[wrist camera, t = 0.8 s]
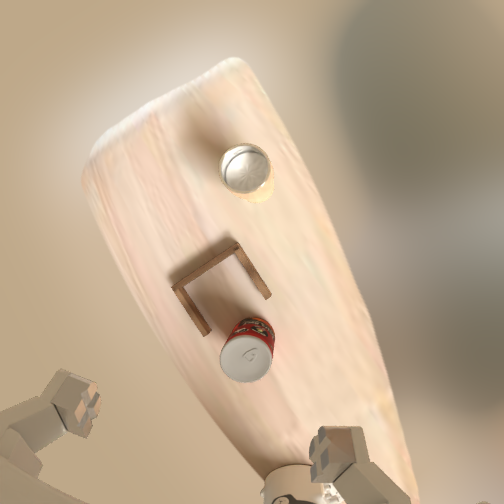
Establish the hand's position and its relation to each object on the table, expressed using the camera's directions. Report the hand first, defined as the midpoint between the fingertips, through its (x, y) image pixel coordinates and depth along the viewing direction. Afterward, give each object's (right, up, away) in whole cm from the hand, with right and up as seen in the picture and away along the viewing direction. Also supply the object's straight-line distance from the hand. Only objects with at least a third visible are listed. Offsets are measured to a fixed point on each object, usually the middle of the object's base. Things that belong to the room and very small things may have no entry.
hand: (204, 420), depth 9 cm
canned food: (+2, -9, +44) cm, 45 cm away
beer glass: (+2, +17, +42) cm, 46 cm away
